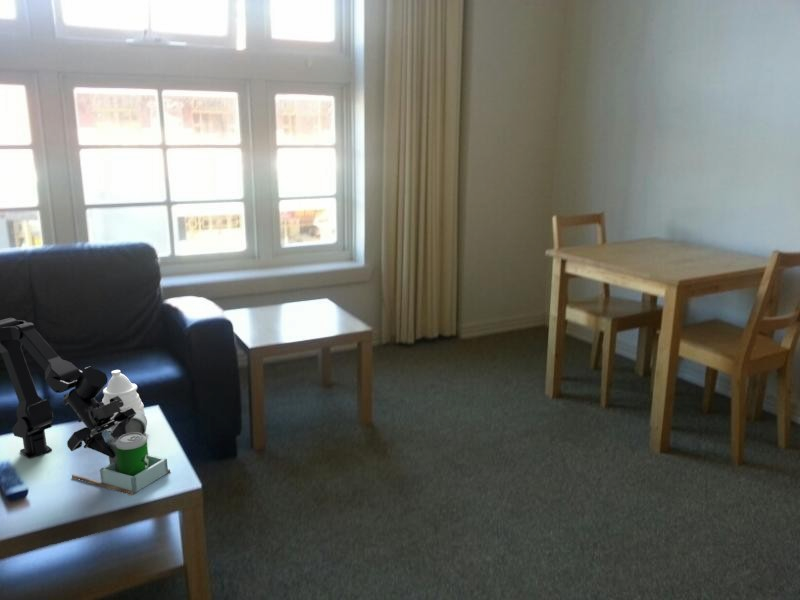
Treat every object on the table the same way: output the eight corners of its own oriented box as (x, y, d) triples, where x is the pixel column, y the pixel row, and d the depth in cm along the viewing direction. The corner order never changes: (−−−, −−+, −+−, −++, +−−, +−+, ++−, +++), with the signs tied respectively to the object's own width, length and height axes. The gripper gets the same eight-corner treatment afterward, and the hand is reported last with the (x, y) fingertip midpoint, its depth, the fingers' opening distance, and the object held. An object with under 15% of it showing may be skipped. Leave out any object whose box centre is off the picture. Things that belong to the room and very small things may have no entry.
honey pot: (140, 430, 205) (134, 375, 200) (96, 433, 203) (89, 377, 198) (148, 413, 217) (143, 361, 213) (107, 416, 215) (101, 363, 211)
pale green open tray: (98, 482, 173) (93, 448, 171) (132, 463, 183) (129, 430, 181) (134, 492, 168) (130, 457, 166) (168, 472, 178) (164, 439, 176)
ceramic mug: (148, 429, 205) (145, 406, 203) (147, 440, 198) (144, 416, 196) (111, 434, 202) (108, 411, 200) (108, 446, 195) (105, 421, 193)
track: (72, 477, 176) (71, 475, 176) (111, 456, 188) (111, 454, 187) (132, 495, 167) (132, 492, 167) (170, 472, 179) (170, 469, 179)
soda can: (144, 486, 172) (139, 443, 169) (115, 486, 172) (109, 443, 169) (154, 472, 179) (150, 430, 176) (127, 472, 179) (122, 430, 176)
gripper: (69, 403, 165) (106, 452, 164) (127, 379, 182) (162, 423, 180) (51, 427, 171) (87, 474, 169) (109, 401, 187) (143, 444, 185)
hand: (121, 453), depth 175 cm, fingers open, 5 cm apart
